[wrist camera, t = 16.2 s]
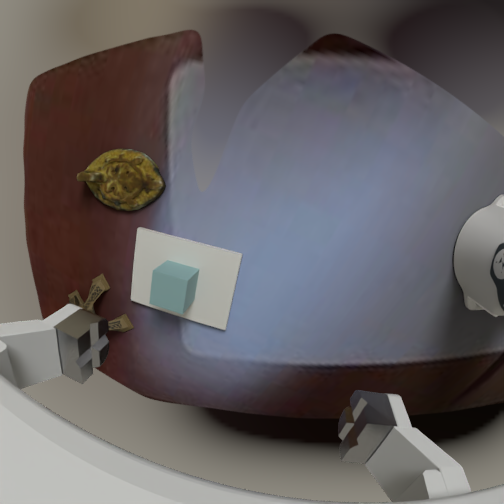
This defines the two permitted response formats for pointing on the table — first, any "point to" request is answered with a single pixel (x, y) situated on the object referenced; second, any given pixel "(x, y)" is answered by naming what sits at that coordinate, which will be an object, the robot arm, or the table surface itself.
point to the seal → (124, 179)
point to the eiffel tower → (95, 291)
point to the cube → (173, 286)
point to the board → (194, 255)
